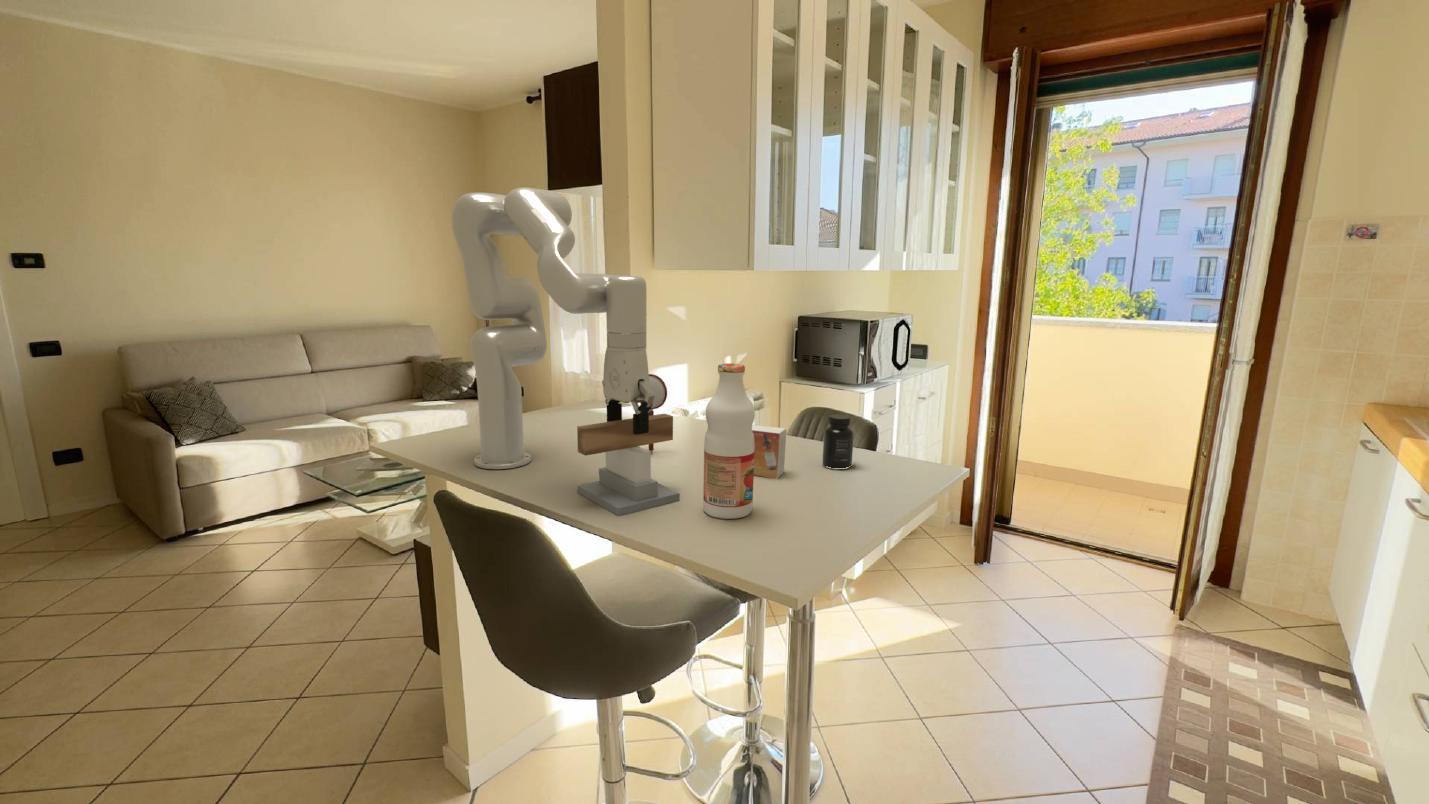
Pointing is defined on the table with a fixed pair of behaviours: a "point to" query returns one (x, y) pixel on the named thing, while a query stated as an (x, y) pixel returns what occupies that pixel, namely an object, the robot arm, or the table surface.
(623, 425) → the walnut bar
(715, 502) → the fruit juice
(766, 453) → the small box
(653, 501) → the ridge stand
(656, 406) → the magnifying glass
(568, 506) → the table surface
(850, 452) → the supplement bottle
